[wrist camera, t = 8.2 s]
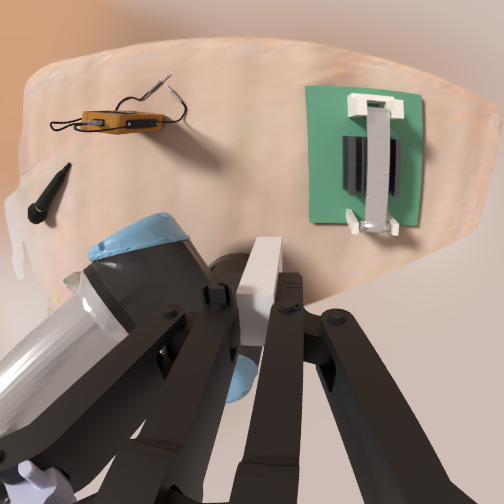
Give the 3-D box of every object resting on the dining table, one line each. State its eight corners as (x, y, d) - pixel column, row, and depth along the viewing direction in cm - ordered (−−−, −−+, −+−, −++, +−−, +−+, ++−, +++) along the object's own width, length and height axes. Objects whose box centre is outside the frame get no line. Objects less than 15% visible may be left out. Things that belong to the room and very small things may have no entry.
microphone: (75, 157, 51) (38, 211, 56) (57, 153, 46) (21, 211, 50) (82, 173, 50) (43, 228, 55) (63, 170, 45) (26, 228, 50)
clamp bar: (385, 229, 38) (388, 234, 36) (358, 228, 38) (361, 233, 37) (389, 109, 31) (394, 109, 29) (360, 107, 31) (363, 106, 29)
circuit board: (414, 223, 42) (435, 244, 34) (309, 220, 45) (310, 241, 37) (418, 95, 33) (443, 90, 25) (305, 87, 37) (305, 76, 29)
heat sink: (392, 190, 39) (401, 197, 35) (342, 188, 41) (346, 195, 37) (393, 138, 36) (403, 140, 32) (342, 135, 38) (346, 136, 33)
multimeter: (195, 76, 38) (124, 50, 20) (182, 134, 43) (106, 144, 25) (122, 71, 39) (39, 60, 21) (112, 123, 44) (28, 134, 26)
